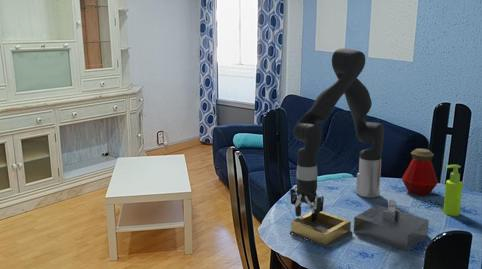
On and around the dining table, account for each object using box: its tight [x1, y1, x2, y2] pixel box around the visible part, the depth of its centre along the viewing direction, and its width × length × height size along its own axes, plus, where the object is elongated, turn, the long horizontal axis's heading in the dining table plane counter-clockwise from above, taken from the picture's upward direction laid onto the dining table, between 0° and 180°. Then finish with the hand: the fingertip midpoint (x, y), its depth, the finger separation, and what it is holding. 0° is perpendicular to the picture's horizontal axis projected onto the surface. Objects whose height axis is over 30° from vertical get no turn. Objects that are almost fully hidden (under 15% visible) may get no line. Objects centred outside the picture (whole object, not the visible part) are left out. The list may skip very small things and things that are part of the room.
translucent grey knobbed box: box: [353, 199, 430, 252], centre depth 149 cm, size 20×16×13 cm
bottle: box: [401, 148, 439, 197], centre depth 188 cm, size 16×14×20 cm
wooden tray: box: [290, 211, 352, 245], centre depth 152 cm, size 15×15×4 cm
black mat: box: [289, 222, 353, 249], centre depth 152 cm, size 16×16×1 cm
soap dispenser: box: [442, 164, 464, 217], centre depth 165 cm, size 6×7×20 cm
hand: (306, 218), depth 156 cm, fingers open, 6 cm apart
